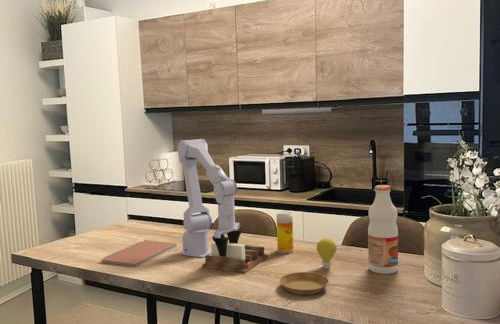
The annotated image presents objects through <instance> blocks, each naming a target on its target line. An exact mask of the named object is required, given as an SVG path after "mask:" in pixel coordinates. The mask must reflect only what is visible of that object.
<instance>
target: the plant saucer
mask: <svg viewBox="0 0 500 324" xmlns="http://www.w3.org/2000/svg"><path fill="white" fill-rule="evenodd" d="M279 283H280V284H281V286H282V287H283V288H284V289H285V290H287V292H289V293H291V294H293V295H294V294H295V295H300V296H301V295H302V296H308V295H315V294H318V293H320V292H322V291H323V290H324V289H326V287H327V286H328V285H329V283H330V280H329V278H327V276H325V275H323V274H321V273H316V272H311V271H310V272H307V271H299V272H293V273H287V274H286V275H285V274H284V275H283V276H281V277H280V278H279Z"/></svg>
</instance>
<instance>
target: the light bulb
mask: <svg viewBox="0 0 500 324" xmlns="http://www.w3.org/2000/svg"><path fill="white" fill-rule="evenodd" d="M316 251H317V254H318V255H319V257H320V258H321V260H322V261H321V264H322V265H323V268H324V269H330V268H331V265H333V263H332V259H333V258H334V256H335V254H336V252H337V244H336V243H335V241H334V240H333V239H331V238H327V237H324V238H322V239H320V240H319V241H318V242H317V245H316Z"/></svg>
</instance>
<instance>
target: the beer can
mask: <svg viewBox="0 0 500 324" xmlns="http://www.w3.org/2000/svg"><path fill="white" fill-rule="evenodd" d="M293 225H294V222H293V214H292V212H291V211H278V212H276V238H277V240H276V242H277V248H276V249H277V251H278V253H280V254H291V253H292V252H293V251H294V226H293Z"/></svg>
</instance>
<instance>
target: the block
mask: <svg viewBox="0 0 500 324" xmlns="http://www.w3.org/2000/svg"><path fill="white" fill-rule="evenodd" d="M245 245H246V244H244V243H238V244H235V243H229V242H228V243H227V251H226V256H225V257H227V258H235V259H244V260H245ZM210 246H211V247H210V248H211V249H210V250H211V251H212V253H211V256H219V257H222V256H220V255H219V252H218V249H217V246H216V244H215V242H214V241H212V242H210ZM245 264H246V263H245Z"/></svg>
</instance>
